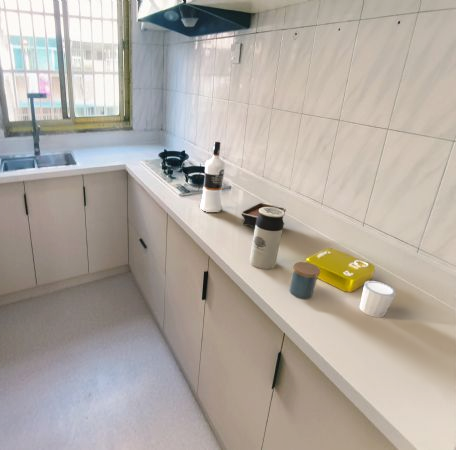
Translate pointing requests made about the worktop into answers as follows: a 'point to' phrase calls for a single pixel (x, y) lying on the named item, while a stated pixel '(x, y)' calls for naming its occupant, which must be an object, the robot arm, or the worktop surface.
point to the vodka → (213, 182)
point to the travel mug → (267, 237)
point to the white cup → (376, 298)
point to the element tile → (341, 269)
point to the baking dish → (256, 213)
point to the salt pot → (304, 280)
